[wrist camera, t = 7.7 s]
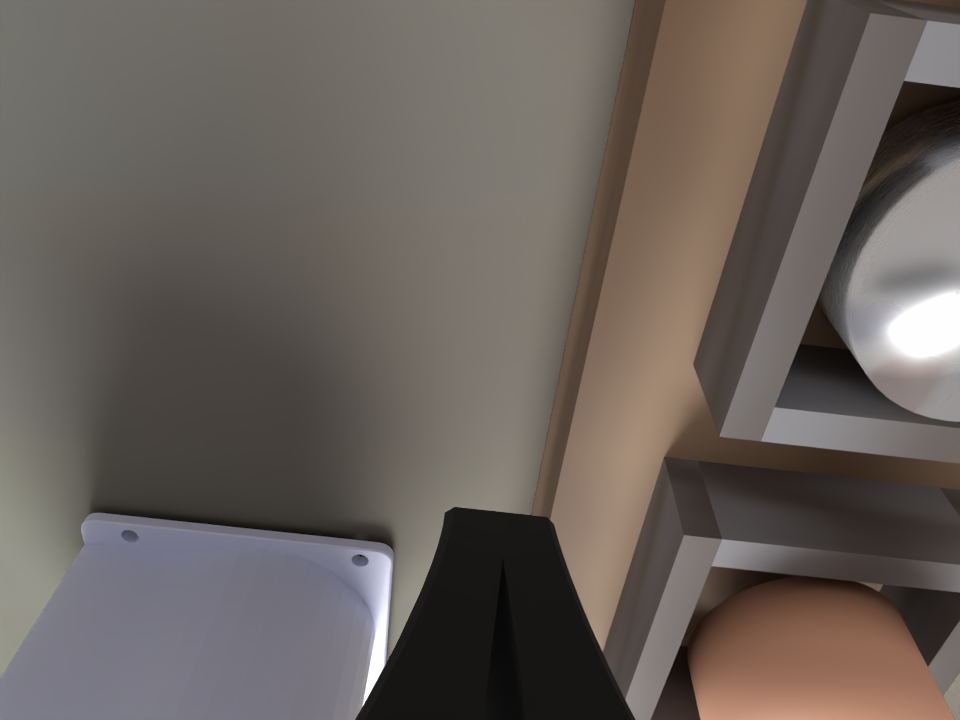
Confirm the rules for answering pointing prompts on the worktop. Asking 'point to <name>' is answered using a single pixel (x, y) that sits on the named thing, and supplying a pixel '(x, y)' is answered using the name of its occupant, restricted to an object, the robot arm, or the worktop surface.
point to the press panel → (744, 338)
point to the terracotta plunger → (810, 656)
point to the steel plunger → (905, 266)
